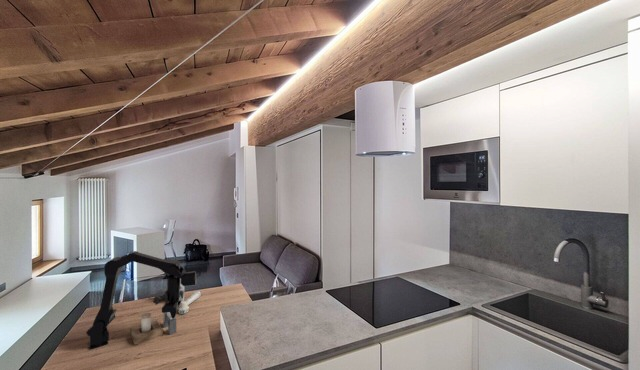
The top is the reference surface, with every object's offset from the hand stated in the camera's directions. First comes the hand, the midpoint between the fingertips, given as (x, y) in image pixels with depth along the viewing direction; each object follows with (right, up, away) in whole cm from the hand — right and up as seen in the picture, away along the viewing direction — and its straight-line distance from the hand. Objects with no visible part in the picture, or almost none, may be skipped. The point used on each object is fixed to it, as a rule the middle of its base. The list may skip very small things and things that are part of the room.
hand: (173, 318), depth 137 cm
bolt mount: (-4, -8, +5) cm, 10 cm away
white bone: (-7, -8, +33) cm, 34 cm away
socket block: (-13, -8, -1) cm, 15 cm away
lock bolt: (-3, -1, +3) cm, 4 cm away
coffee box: (-18, -8, +37) cm, 42 cm away
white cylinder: (-13, -8, -1) cm, 15 cm away
